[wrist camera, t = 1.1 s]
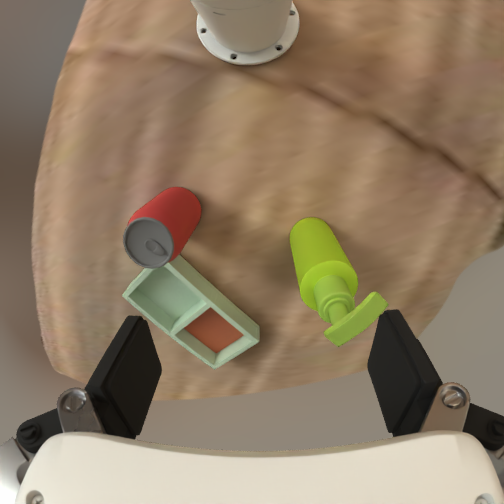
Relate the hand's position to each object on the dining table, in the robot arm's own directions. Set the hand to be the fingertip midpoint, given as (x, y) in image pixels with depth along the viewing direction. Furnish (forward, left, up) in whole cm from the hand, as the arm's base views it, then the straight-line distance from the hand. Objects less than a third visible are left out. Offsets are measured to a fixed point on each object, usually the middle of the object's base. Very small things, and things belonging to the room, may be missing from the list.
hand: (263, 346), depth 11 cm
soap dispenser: (+9, +1, -29) cm, 30 cm away
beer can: (-6, -10, -29) cm, 31 cm away
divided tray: (+6, -20, -29) cm, 36 cm away
